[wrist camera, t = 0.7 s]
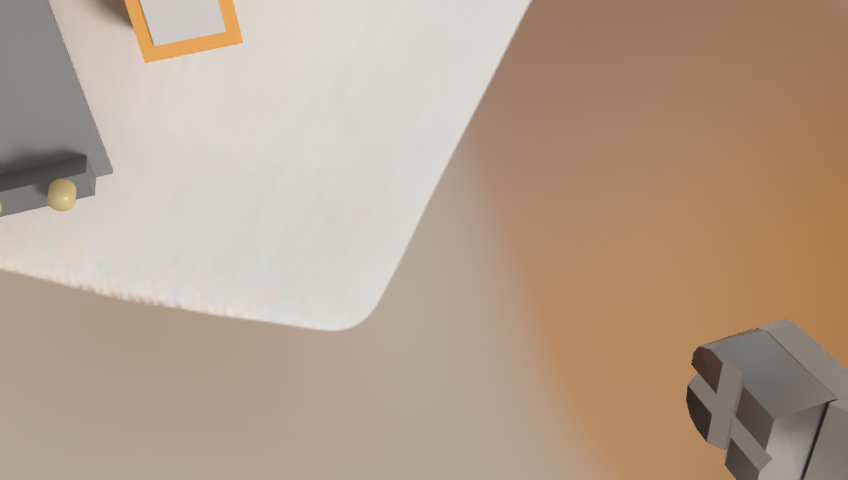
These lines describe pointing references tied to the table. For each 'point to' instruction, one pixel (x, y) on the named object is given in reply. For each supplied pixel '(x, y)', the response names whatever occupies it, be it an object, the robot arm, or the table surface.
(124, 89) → the table surface
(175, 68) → the table surface
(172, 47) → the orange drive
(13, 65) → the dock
